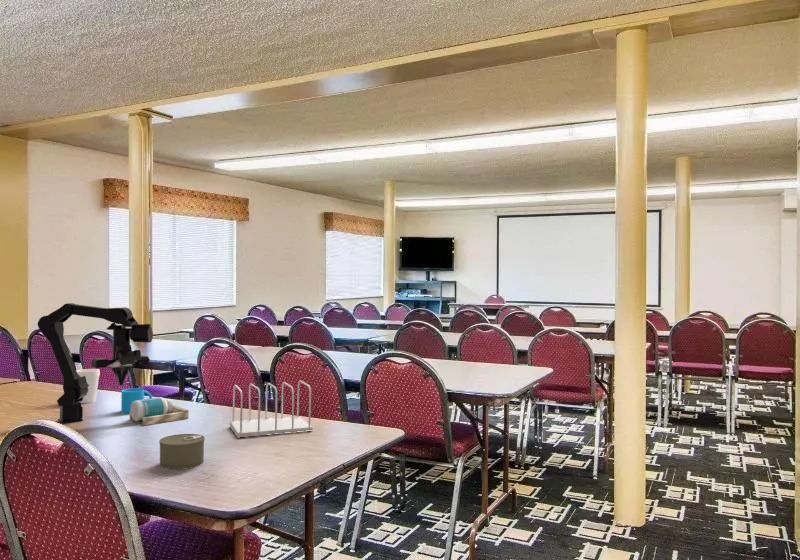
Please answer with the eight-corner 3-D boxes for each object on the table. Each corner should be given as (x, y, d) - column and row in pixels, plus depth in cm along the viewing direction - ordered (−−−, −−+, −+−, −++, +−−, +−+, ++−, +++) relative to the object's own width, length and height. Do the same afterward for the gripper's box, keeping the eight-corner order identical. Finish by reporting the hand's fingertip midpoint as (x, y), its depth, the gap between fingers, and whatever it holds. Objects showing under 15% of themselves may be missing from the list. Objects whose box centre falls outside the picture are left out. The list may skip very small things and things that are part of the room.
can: (151, 463, 176) (152, 438, 176) (192, 455, 184) (192, 431, 184) (170, 472, 167) (170, 447, 167) (212, 463, 176) (212, 439, 176)
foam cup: (69, 402, 259) (69, 371, 259) (86, 398, 268) (86, 368, 268) (87, 404, 256) (88, 372, 256) (104, 400, 265) (104, 369, 265)
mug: (127, 414, 239) (127, 392, 239) (117, 411, 244) (117, 390, 244) (157, 409, 248) (157, 388, 248) (146, 406, 253) (146, 386, 253)
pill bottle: (137, 425, 223) (173, 419, 233) (139, 405, 222) (175, 400, 232) (128, 416, 228) (164, 411, 238) (130, 397, 227) (166, 392, 237)
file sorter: (237, 439, 203) (238, 391, 203) (229, 427, 219) (229, 382, 219) (313, 432, 214) (313, 386, 214) (299, 421, 229) (300, 378, 229)
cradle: (144, 425, 220) (144, 416, 220) (129, 419, 229) (129, 411, 229) (188, 418, 232) (188, 410, 232) (173, 413, 241) (173, 405, 241)
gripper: (101, 345, 216) (101, 391, 216) (155, 342, 229) (155, 385, 229) (91, 342, 224) (90, 386, 224) (144, 340, 237) (143, 381, 237)
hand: (120, 385), depth 228 cm, fingers closed
